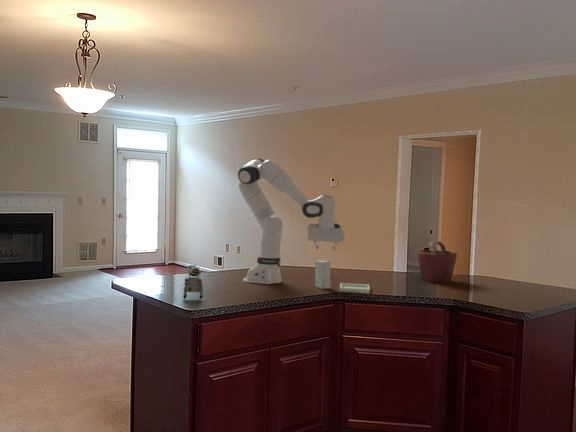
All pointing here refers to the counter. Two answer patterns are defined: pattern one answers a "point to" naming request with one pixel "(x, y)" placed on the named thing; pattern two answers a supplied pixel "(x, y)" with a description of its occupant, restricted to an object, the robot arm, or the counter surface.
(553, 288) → the counter surface
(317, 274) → the skincare box
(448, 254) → the bucket
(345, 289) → the sage tray
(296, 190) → the robot arm
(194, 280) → the figurine
